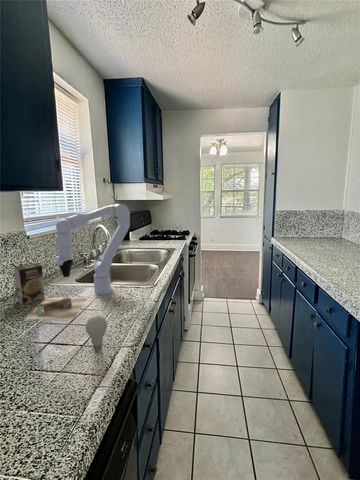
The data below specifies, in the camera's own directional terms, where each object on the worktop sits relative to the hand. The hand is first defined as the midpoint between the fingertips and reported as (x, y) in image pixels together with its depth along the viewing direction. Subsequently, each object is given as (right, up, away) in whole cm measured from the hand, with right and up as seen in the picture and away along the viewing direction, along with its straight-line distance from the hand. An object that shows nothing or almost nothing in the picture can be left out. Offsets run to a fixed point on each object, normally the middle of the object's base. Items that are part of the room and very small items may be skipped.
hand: (66, 276), depth 113 cm
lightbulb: (+26, -17, -36) cm, 48 cm away
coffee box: (-15, -11, -2) cm, 18 cm away
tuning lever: (+1, -11, -11) cm, 16 cm away
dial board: (+1, -12, -9) cm, 15 cm away
